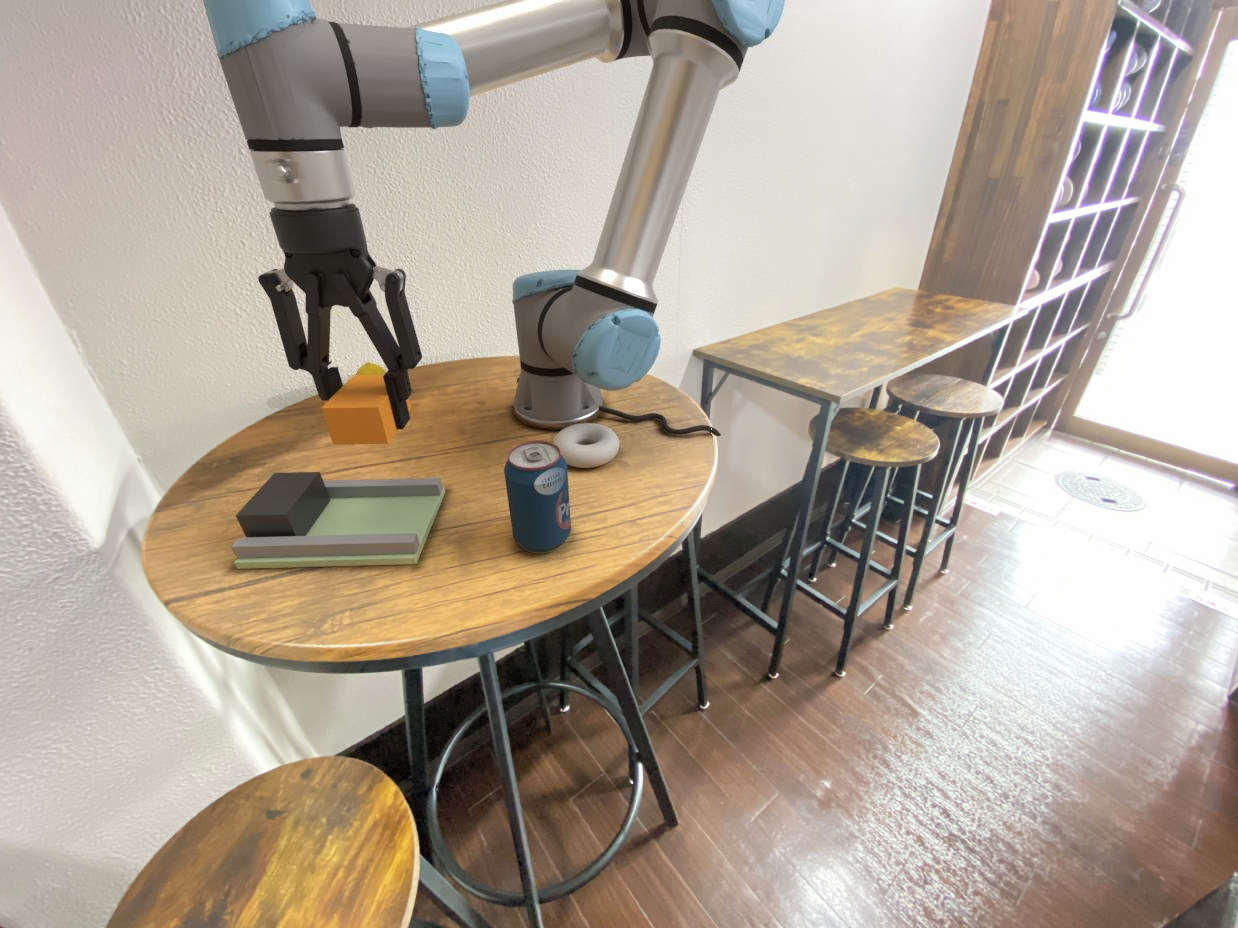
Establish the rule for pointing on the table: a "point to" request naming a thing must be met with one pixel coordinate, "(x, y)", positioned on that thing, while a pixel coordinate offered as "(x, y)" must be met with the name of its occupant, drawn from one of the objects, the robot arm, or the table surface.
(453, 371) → the table surface
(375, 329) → the robot arm
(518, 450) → the soda can
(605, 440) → the donut
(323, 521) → the board
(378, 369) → the lemon
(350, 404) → the matte orange brick
